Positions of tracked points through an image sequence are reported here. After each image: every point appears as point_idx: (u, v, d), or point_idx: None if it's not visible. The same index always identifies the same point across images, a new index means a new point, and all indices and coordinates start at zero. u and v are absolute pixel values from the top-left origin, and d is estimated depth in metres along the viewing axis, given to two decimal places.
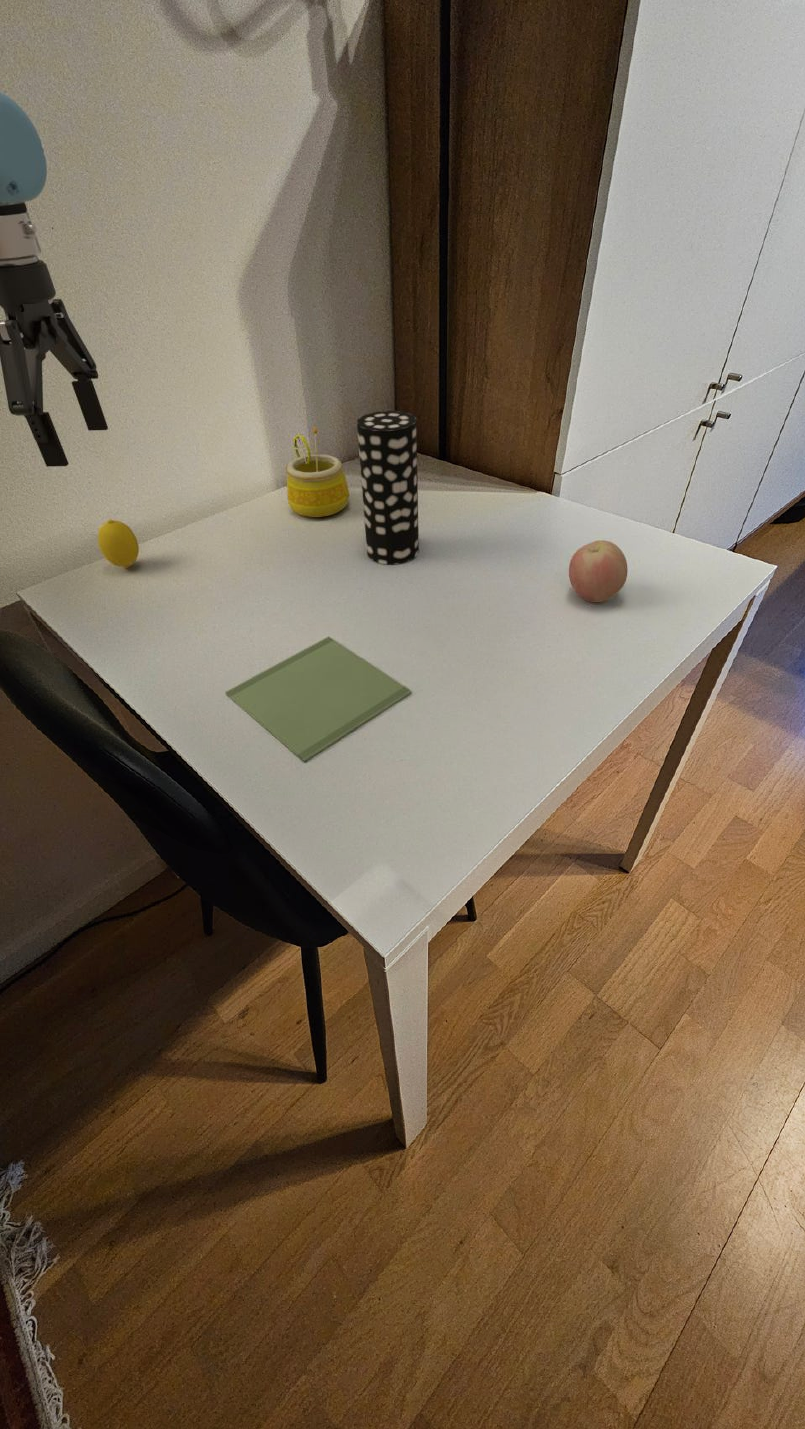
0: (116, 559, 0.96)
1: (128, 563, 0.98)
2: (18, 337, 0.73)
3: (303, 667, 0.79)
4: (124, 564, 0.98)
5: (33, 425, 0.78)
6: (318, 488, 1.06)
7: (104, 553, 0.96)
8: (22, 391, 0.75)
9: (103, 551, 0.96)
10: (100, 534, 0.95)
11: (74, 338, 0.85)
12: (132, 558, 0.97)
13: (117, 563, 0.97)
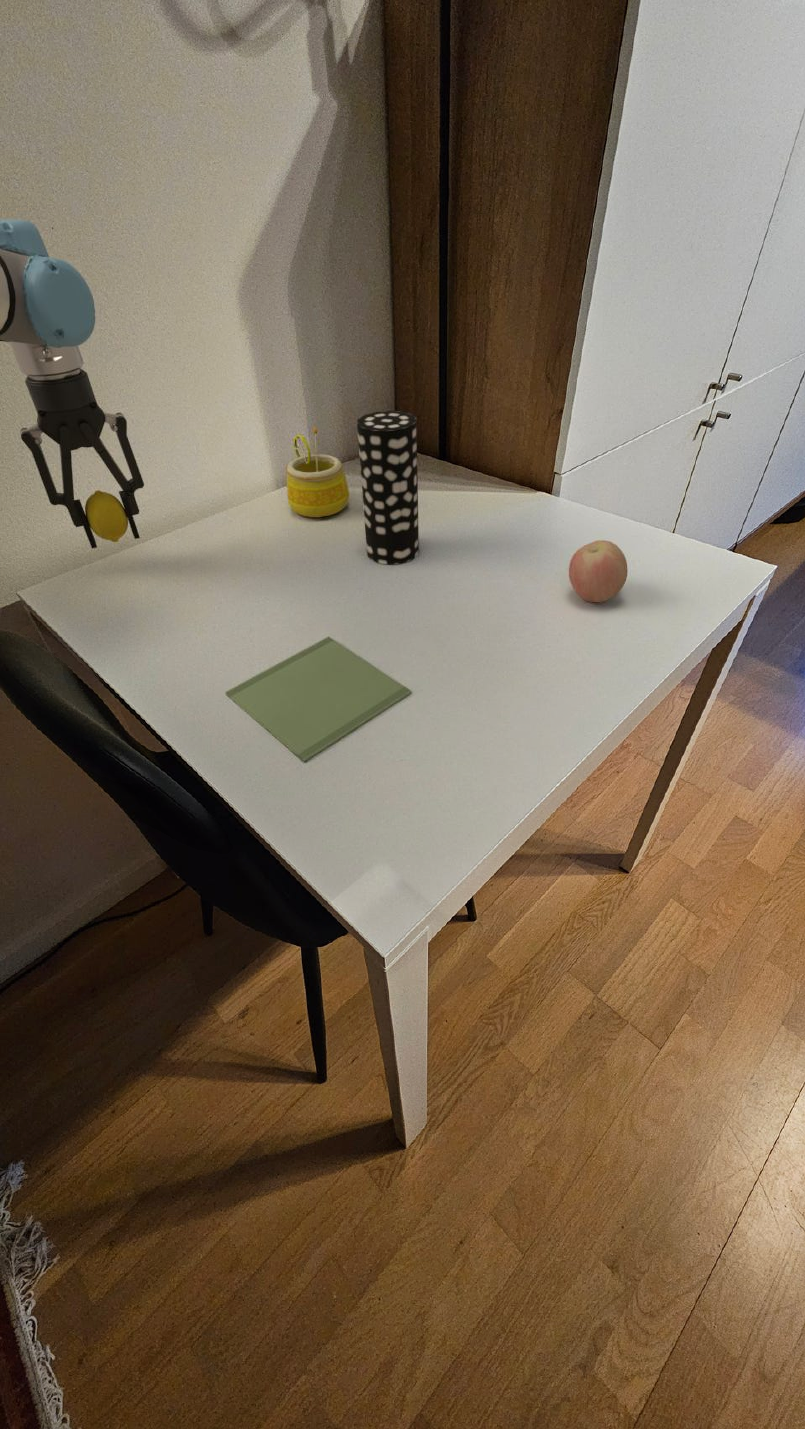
0: (104, 532, 0.93)
1: (116, 537, 0.94)
2: (32, 445, 0.83)
3: (303, 667, 0.79)
4: (112, 537, 0.94)
5: (69, 511, 0.91)
6: (318, 488, 1.06)
7: (91, 525, 0.92)
8: (45, 488, 0.87)
9: (90, 523, 0.92)
10: (87, 505, 0.91)
11: (123, 452, 0.89)
12: (120, 531, 0.94)
13: (105, 536, 0.93)
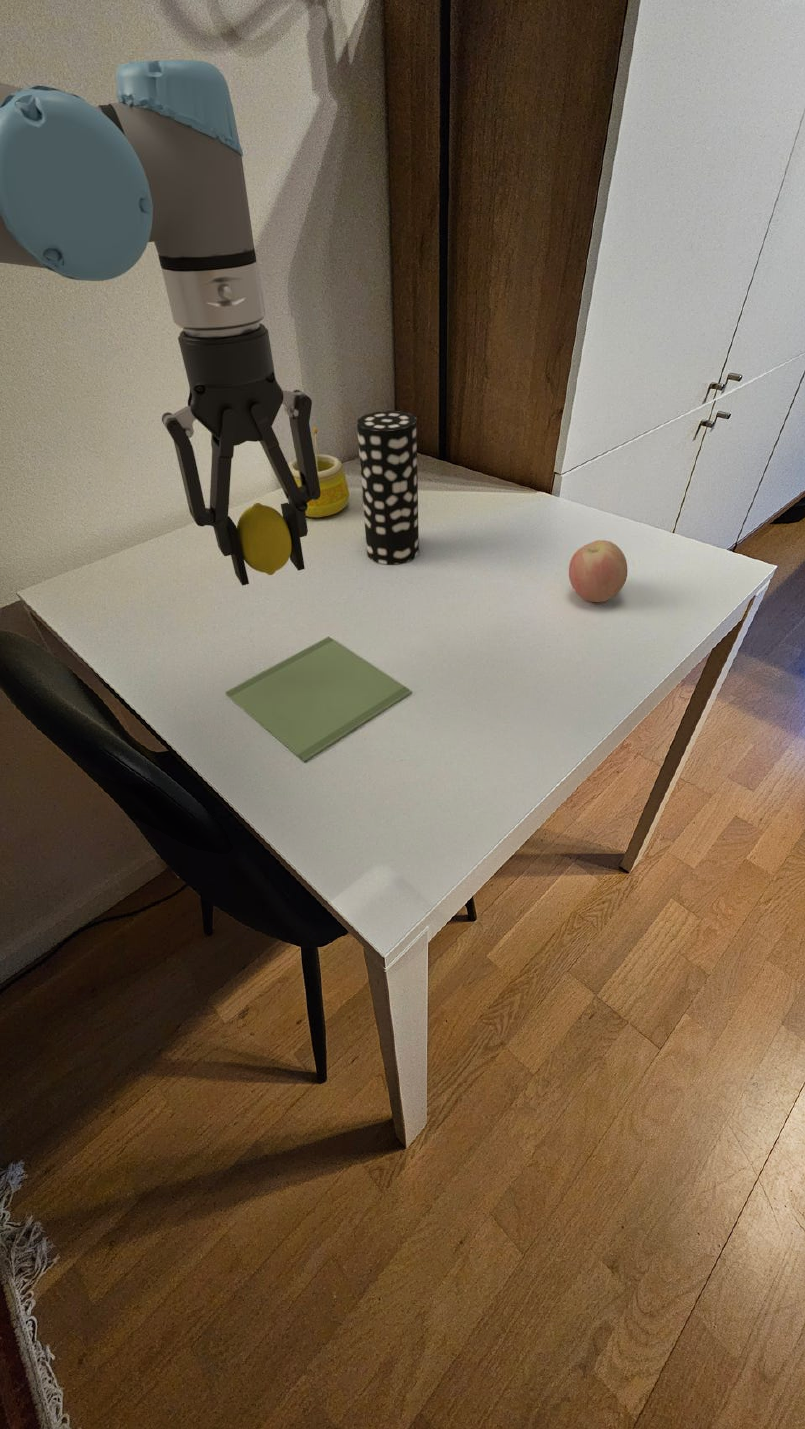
0: (264, 563, 0.65)
1: (277, 568, 0.66)
2: (181, 439, 0.55)
3: (303, 667, 0.79)
4: (272, 570, 0.66)
5: (216, 534, 0.63)
6: None
7: (246, 553, 0.64)
8: (190, 502, 0.59)
9: (245, 550, 0.64)
10: (242, 525, 0.63)
11: (301, 448, 0.61)
12: (284, 560, 0.66)
13: (263, 568, 0.66)
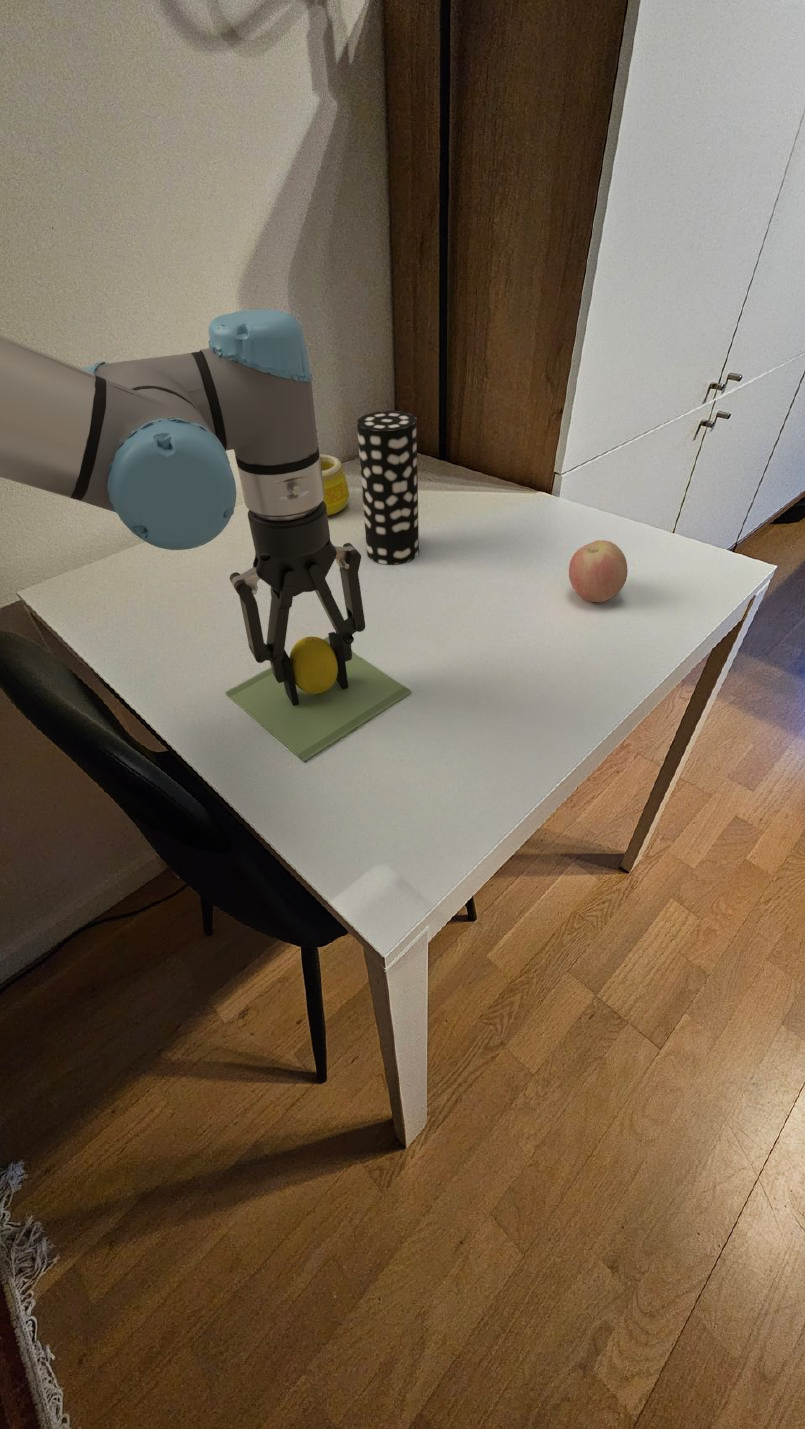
0: (314, 688, 0.72)
1: (325, 690, 0.73)
2: (247, 597, 0.62)
3: None
4: (320, 692, 0.73)
5: (271, 664, 0.70)
6: None
7: (298, 680, 0.71)
8: (252, 644, 0.66)
9: (297, 678, 0.71)
10: (296, 657, 0.70)
11: (349, 592, 0.68)
12: (331, 684, 0.73)
13: (312, 692, 0.72)
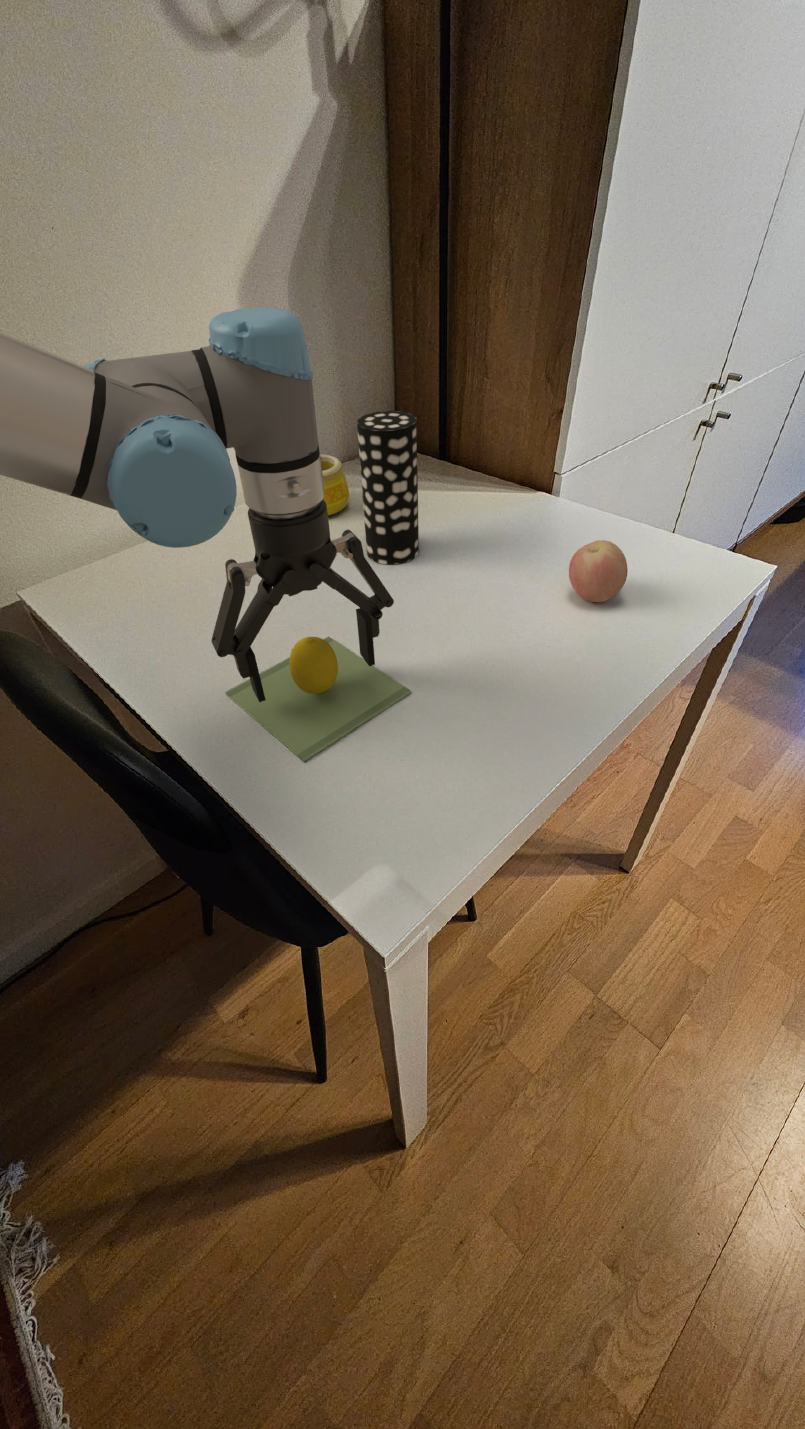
0: (314, 688, 0.72)
1: (325, 690, 0.73)
2: (238, 586, 0.61)
3: None
4: (320, 692, 0.73)
5: (235, 659, 0.68)
6: None
7: (298, 680, 0.71)
8: (220, 634, 0.64)
9: (297, 678, 0.71)
10: (296, 657, 0.70)
11: (364, 577, 0.67)
12: (331, 684, 0.73)
13: (313, 692, 0.72)
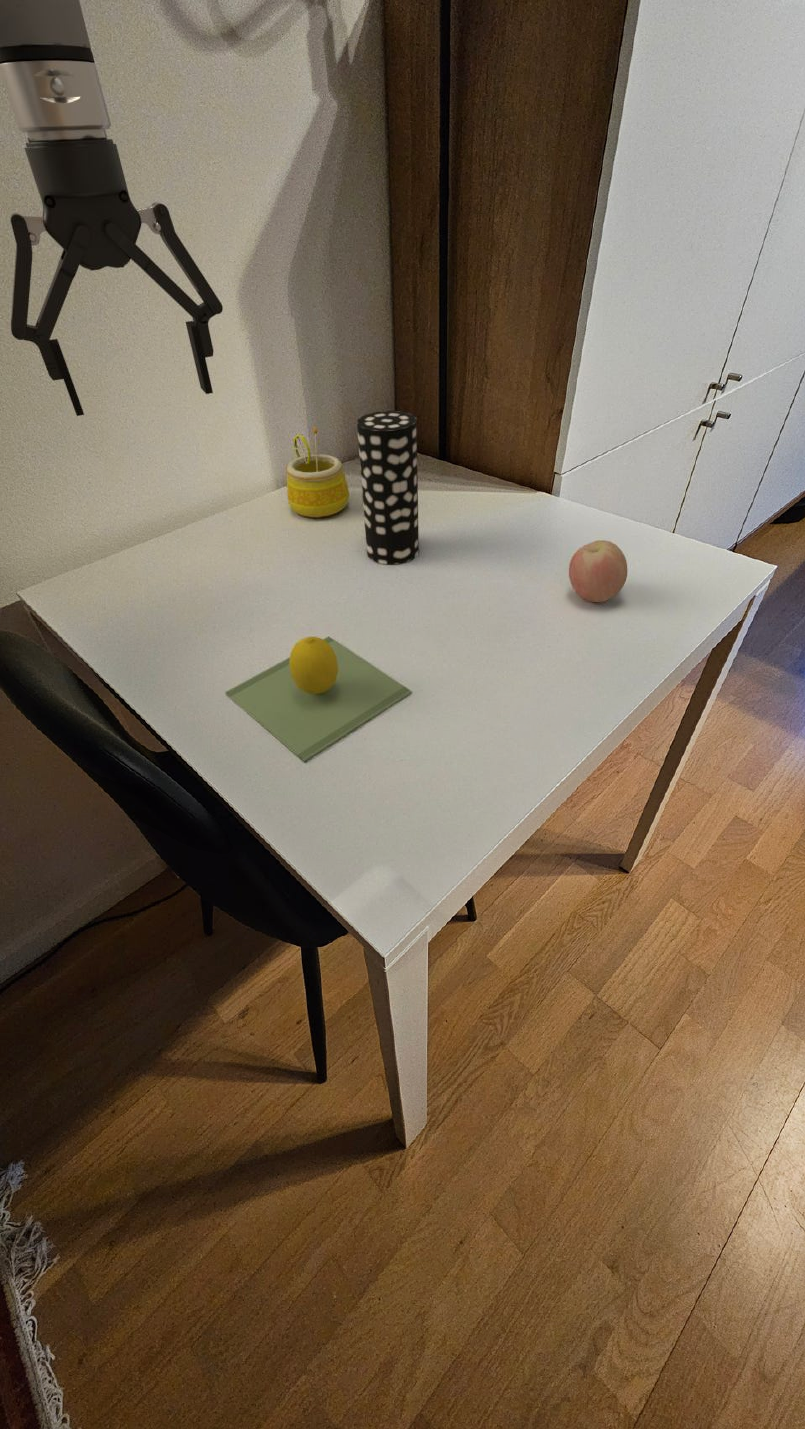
0: (314, 688, 0.72)
1: (325, 690, 0.73)
2: (22, 239, 0.56)
3: None
4: (320, 692, 0.73)
5: None
6: (318, 488, 1.06)
7: (298, 680, 0.71)
8: (12, 308, 0.59)
9: (297, 678, 0.71)
10: (296, 658, 0.70)
11: (180, 263, 0.62)
12: (331, 684, 0.73)
13: (312, 692, 0.72)
